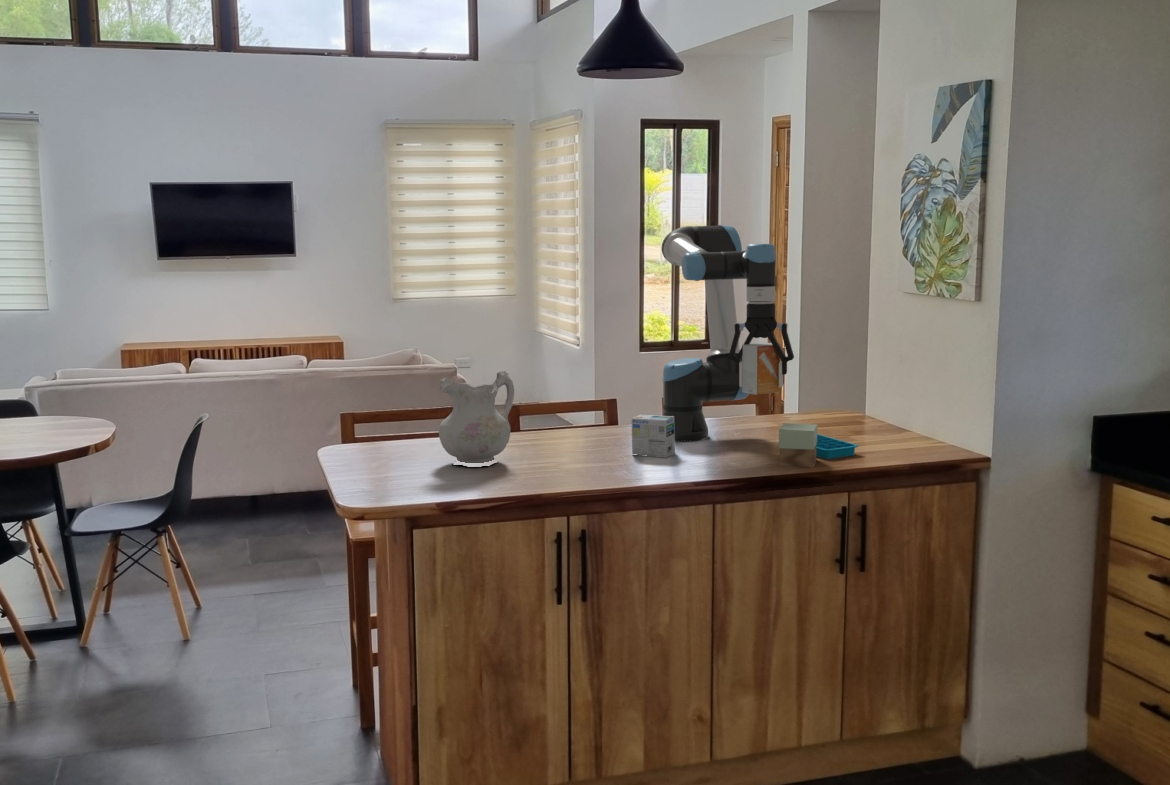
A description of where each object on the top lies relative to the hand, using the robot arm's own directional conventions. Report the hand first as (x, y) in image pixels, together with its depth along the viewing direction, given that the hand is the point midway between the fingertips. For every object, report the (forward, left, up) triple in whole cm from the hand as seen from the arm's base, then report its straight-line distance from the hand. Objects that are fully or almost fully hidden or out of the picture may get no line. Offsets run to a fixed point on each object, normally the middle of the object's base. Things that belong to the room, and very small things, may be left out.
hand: (761, 386), depth 289 cm
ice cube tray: (+15, +15, -21) cm, 30 cm away
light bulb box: (-30, +3, -21) cm, 37 cm away
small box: (0, 0, -2) cm, 2 cm away
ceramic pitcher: (-75, -15, -20) cm, 79 cm away
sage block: (+10, -1, -16) cm, 18 cm away
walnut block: (+10, -1, -21) cm, 23 cm away
